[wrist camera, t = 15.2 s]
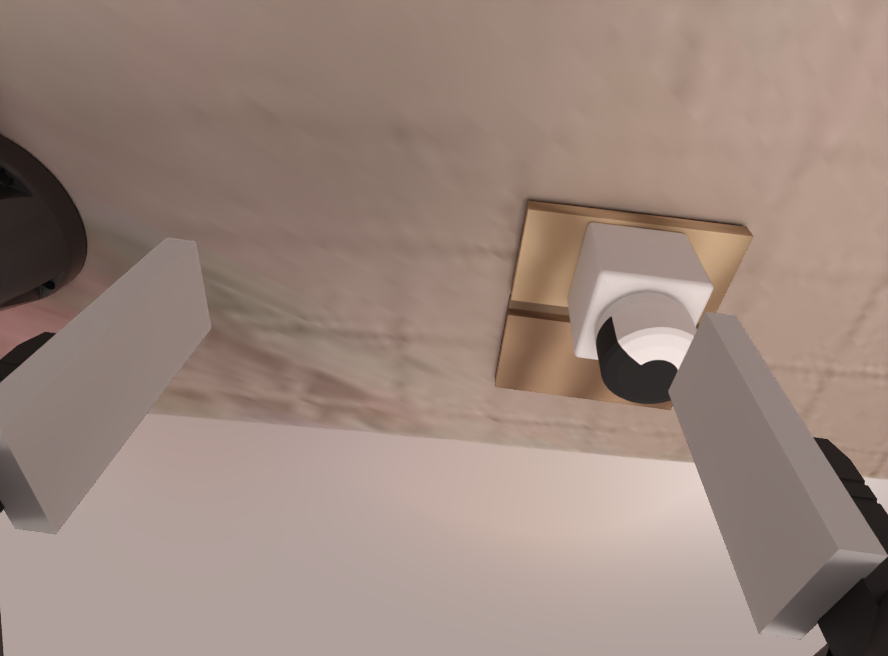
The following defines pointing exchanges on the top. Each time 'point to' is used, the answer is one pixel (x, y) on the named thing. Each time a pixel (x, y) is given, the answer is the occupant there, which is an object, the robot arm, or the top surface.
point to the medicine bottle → (636, 307)
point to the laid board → (549, 356)
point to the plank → (563, 227)
